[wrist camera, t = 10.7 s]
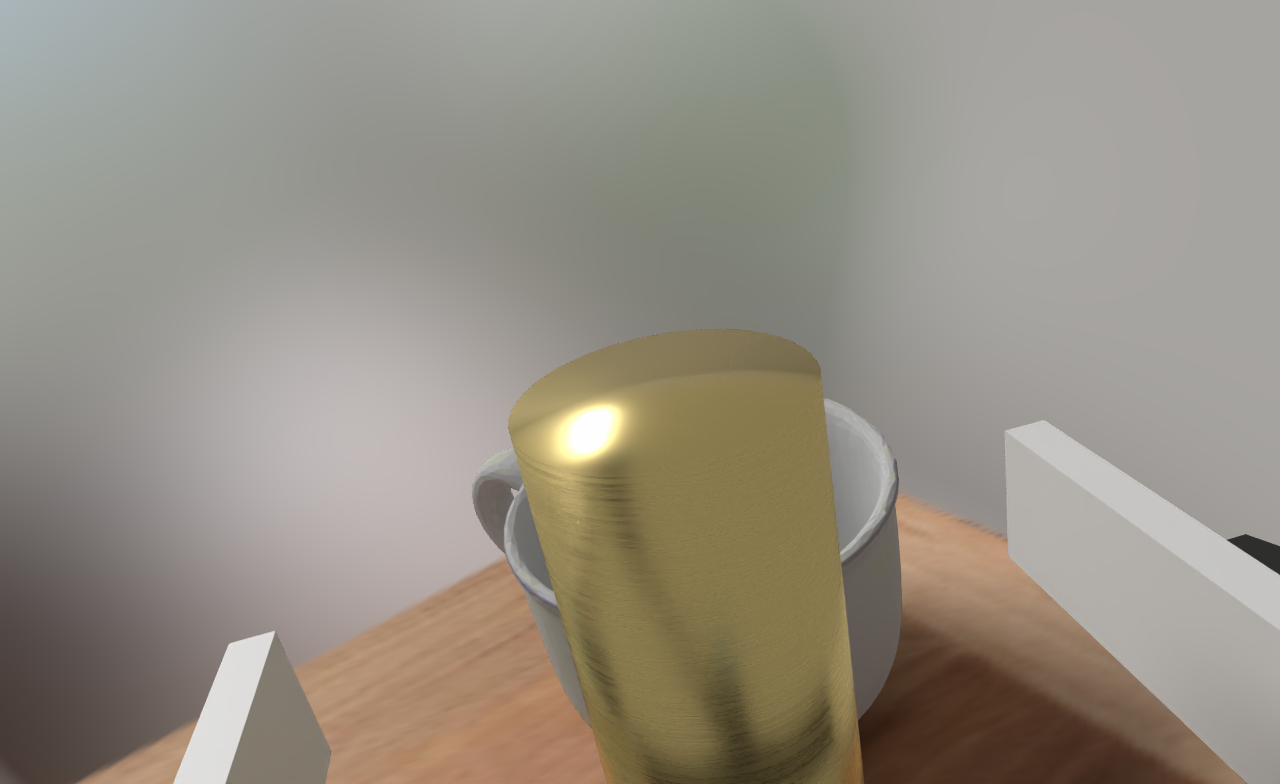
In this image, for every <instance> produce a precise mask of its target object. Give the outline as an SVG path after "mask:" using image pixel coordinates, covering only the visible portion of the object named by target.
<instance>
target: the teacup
mask: <svg viewBox="0 0 1280 784" xmlns="http://www.w3.org/2000/svg"><path fill="white" fill-rule="evenodd" d="M824 406H825V416H826V425H827V435H828V444H829V454H830V463H831V473H832V482H833V491H834V501H835V510H836V520H837V529H838V539H839V548H840V558H841V567H842V577H843V586H844V596H845V605H846V615H847V624H848V633H849V643H850V652H851V662H852V671H853V681H854V690H855V700H856V709H857V719H858V720H859V719H860V718H861V717H862V716H863V714H864V713H865V712H866V711H867V710H868V709H869V708H870V706H871V705H872V704H873V702H874V701H875V699H876V698H877V696H878V695H879V693H880V691H881V690H882V688H883V686H884V684H885V682H886V680H887V678H888V676H889V673H890V670H891V668H892V665H893V663H894V660H895V656H896V652H897V648H898V644H899V637H900V630H901V614H902V593H901V564H900V551H899V539H898V527H897V518H896V508H895V503H896V500H897V495H898V485H899V478H898V470H897V462H896V460H895V458H894V456H893V453H892V451H891V448H890V446H889V445H888V443H887V442H886V440H885V438H884V437H883V436H882V435H881V434H880V433H879V431H878V429H876V428H875V427H874V426H873V425H872V424H871V423H870V422H869V421H868V420H866V419H864V418H863V417H861V416H860V415H859V414H857V413H856V412H854V411H853V410H851V409H849V408H848V407H846V406H843V405H840V404H839V403H837V402H834V401H832V400H829V399H825V398H824ZM511 488H513V489H515V490H517V491H519V492H518V494H517V496H516V497H515V498H514V497H513V494H512V492H511ZM472 499H473V504H474V508H475V511H476V514H477V516H478V519H479V520H480V522H481V524H482V526H483V528H484V530H485V531H486V533H487V534H488V535H489V537H490V538H491V539H492V540H493V542H494V543H495V544H496V545H497V546H498V548H499V549H501V550H502V551H503V552H504V553H505V554H506V557H507V560H508V563H509V565H510V567H511V570H512V572H513V574H514V575H515V577H516V578H517V580H518V581H519V583H520V584H521V586H522V587H523V589H524V592H525V595H526V597H527V600H528V603H529V606H530V609H531V612H532V614H533V617H534V620H535V622H536V625H537V627H538V630H539V633H540V635H541V638H542V640H543V643H544V645H545V648H546V650H547V653H548V655H549V658H550V660H551V663H552V665H553V667H554V669H555V671H556V674H557V676H558V678H559V680H560V682H561V684H562V686H563V688H564V690H565V692H566V694H567V696H568V698H569V699H570V701H571V702H572V704H573V705H574V707H575V708H576V710H577V711H578V712H579V714H580V715H581V717H582V718H583V719H584V720H585V721H586V723H587V724H588V725H589V726H590V727H591V723H590V720H589V716H588V713H587V709H586V705H585V702H584V698H583V695H582V691H581V688H580V684H579V680H578V677H577V673H576V670H575V666H574V662H573V659H572V655H571V652H570V648H569V644H568V641H567V637H566V634H565V630H564V627H563V623H562V619H561V616H560V612H559V609H558V605H557V601H556V598H555V594H554V591H553V587H552V584H551V580H550V576H549V573H548V569H547V566H546V562H545V558H544V555H543V551H542V548H541V544H540V540H539V537H538V533H537V530H536V526H535V523H534V519H533V515H532V512H531V508H530V505H529V501H528V497H527V494H526V490H525V487H524V483H523V480H522V476H521V472H520V469H519V465H518V462H517V458H516V454H515V451H514V448H511V449H507V450H504V451H502V452H500V453H498V454H496V455H495V456H493V457H492V458H490V459H489V460H488V461H487V462H486V463H485V464H484V465H483V466H482V467H481V468H480V470H479V471H478V472H477V473H476V476H475V479H474V482H473V485H472ZM591 728H592V727H591Z"/></svg>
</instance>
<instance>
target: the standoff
mask: <svg viewBox="0 0 1280 784" xmlns="http://www.w3.org/2000/svg"><path fill="white" fill-rule="evenodd" d="M508 429H509V433H510V436H511V440H512V444H513V447H514V451H515V454H516V458H517V462H518V465H519V469H520V472H521V476H522V480H523V483H524V487H525V490H526V494H527V497H528V501H529V505H530V508H531V512H532V515H533V519H534V523H535V526H536V530H537V533H538V537H539V540H540V544H541V548H542V551H543V555H544V558H545V562H546V566H547V569H548V573H549V576H550V580H551V584H552V587H553V591H554V594H555V598H556V601H557V605H558V609H559V612H560V616H561V619H562V623H563V627H564V630H565V634H566V637H567V641H568V644H569V648H570V652H571V655H572V659H573V662H574V666H575V670H576V673H577V677H578V680H579V684H580V688H581V691H582V695H583V698H584V702H585V705H586V709H587V713H588V716H589V720H590V723H591V727H592V731H593V734H594V738H595V741H596V745H597V748H598V752H599V756H600V759H601V763H602V766H603V770H604V774H605V777H606V781H607V784H864V775H863V766H862V756H861V747H860V738H859V728H858V719H857V709H856V700H855V690H854V681H853V671H852V662H851V652H850V643H849V633H848V624H847V615H846V605H845V596H844V586H843V577H842V567H841V558H840V548H839V539H838V529H837V520H836V510H835V501H834V491H833V482H832V473H831V463H830V454H829V444H828V435H827V425H826V416H825V406H824V397H823V387H822V378H821V370H820V367H819V364H818V362H817V360H816V359H815V358H814V357H813V356H812V354H811V353H810V352H808V351H807V350H806V349H804V348H803V347H802V346H800V345H798V344H796V343H794V342H792V341H790V340H787V339H784V338H781V337H778V336H774V335H770V334H767V333H761V332H755V331H747V330H736V329H700V330H686V331H678V332H670V333H663V334H657V335H652V336H647V337H643V338H638V339H634V340H630V341H626V342H622V343H619V344H615V345H612V346H609V347H606V348H603V349H600V350H597V351H594V352H592V353H589V354H586V355H584V356H582V357H580V358H577V359H575V360H573V361H571V362H569V363H567V364H565V365H563V366H561V367H559V368H557V369H555V370H554V371H552V372H551V373H549V374H547V375H546V376H544V377H543V378H542V379H540V380H539V381H537V382H536V383H535V384H533V385H532V386H531V387H530V388H529V389H528V390H527V391H526V392H525V393H524V394H523V395H522V396H521V397H520V399H519V400H518V401H517V402H516V404H515V406H514V407H513V409H512V411H511V414H510V417H509V424H508Z"/></svg>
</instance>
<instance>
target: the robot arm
mask: <svg viewBox="0 0 1280 784" xmlns="http://www.w3.org/2000/svg"><path fill="white" fill-rule="evenodd" d="M1005 455H1006V456H1005V457H1006V490H1007V491H1006V494H1007V531H1008V556H1009V557H1010V558H1011V559H1012V560H1013V561H1014V562H1015V563H1016V564H1017V565H1018V566H1019V567H1020V568H1021V569H1022V570H1023V571H1024V572H1025V573H1027V574H1028V575H1029V576H1030V577H1031V578H1032V579H1033V580H1034V581H1035V582H1036V583H1037V584H1038V585H1039V586H1040V587H1041V588H1042V589H1043V590H1044V591H1045V592H1046V593H1048V594H1049V595H1050V596H1051V597H1052V598H1053V599H1054V600H1055V601H1056V602H1057V603H1058V604H1059V605H1060V606H1061V607H1062V608H1063V609H1064V610H1065V611H1066V612H1068V613H1069V614H1070V615H1071V616H1072V617H1073V618H1074V619H1075V620H1076V621H1077V622H1078V623H1079V624H1080V625H1081V626H1082V627H1083V628H1084V629H1085V630H1086V631H1087V632H1089V633H1090V634H1091V635H1092V636H1093V637H1094V638H1095V639H1096V640H1097V641H1098V642H1099V643H1100V644H1101V645H1102V646H1103V647H1104V648H1105V649H1106V650H1107V651H1108V652H1110V653H1111V654H1112V655H1113V656H1114V657H1115V658H1116V659H1117V660H1118V661H1119V662H1120V663H1121V664H1122V665H1123V666H1124V667H1125V668H1126V669H1127V670H1128V671H1129V672H1131V673H1132V674H1133V675H1134V676H1135V677H1136V678H1137V679H1138V680H1139V681H1140V682H1141V683H1142V684H1143V685H1144V686H1145V687H1146V688H1147V689H1148V690H1149V691H1150V692H1152V693H1153V694H1154V695H1155V696H1156V697H1157V698H1158V699H1159V700H1160V701H1161V702H1162V703H1163V704H1164V705H1165V706H1166V707H1167V708H1168V709H1169V710H1170V711H1171V712H1173V713H1174V714H1175V715H1176V716H1177V717H1178V718H1179V719H1180V720H1181V721H1182V722H1183V723H1184V724H1185V725H1186V726H1187V727H1188V728H1189V729H1190V730H1191V731H1193V732H1194V733H1195V734H1196V735H1197V736H1198V737H1199V738H1200V739H1201V740H1202V741H1203V742H1204V743H1205V744H1206V745H1207V746H1208V747H1209V748H1210V749H1211V750H1212V751H1214V752H1215V753H1216V754H1217V755H1218V756H1219V757H1220V758H1221V759H1222V760H1223V761H1224V762H1225V763H1226V764H1227V765H1228V766H1229V767H1230V768H1231V769H1232V770H1233V771H1235V772H1236V773H1237V774H1238V775H1239V776H1240V777H1241V778H1242V779H1243V780H1244V781H1245V782H1246V783H1247V784H1280V546H1277V545H1275V544H1272V543H1269V542H1266V541H1263V540H1260V539H1258V538H1255V537H1252V536H1249V535H1246V534H1245V535H1242V536H1238V537H1235V538H1232V539H1228V540H1226V539H1224V538H1222V537H1221V536H1219V535H1218V534H1216V533H1215V532H1213V531H1212V530H1210V529H1209V528H1207V527H1206V526H1204V525H1203V524H1201V523H1200V522H1198V521H1197V520H1195V519H1193V518H1192V517H1190V516H1189V515H1187V514H1186V513H1184V512H1183V511H1181V510H1180V509H1178V508H1177V507H1175V506H1174V505H1172V504H1171V503H1169V502H1168V501H1166V500H1165V499H1163V498H1162V497H1160V496H1159V495H1157V494H1155V493H1154V492H1152V491H1151V490H1149V489H1148V488H1146V487H1145V486H1143V485H1142V484H1140V483H1139V482H1137V481H1136V480H1134V479H1133V478H1131V477H1130V476H1128V475H1127V474H1125V473H1124V472H1122V471H1121V470H1119V469H1117V468H1116V467H1114V466H1113V465H1111V464H1110V463H1108V462H1107V461H1105V460H1104V459H1102V458H1101V457H1099V456H1097V455H1096V454H1095V453H1093V452H1092V451H1090V450H1089V449H1087V448H1085V447H1084V446H1082V445H1081V444H1079V443H1078V442H1076V441H1075V440H1073V439H1072V438H1070V437H1069V436H1067V435H1066V434H1064V433H1063V432H1061V431H1060V430H1058V429H1057V428H1055V427H1053V426H1052V425H1050V424H1049V423H1047V422H1046V421H1044V420H1043V421H1039V422H1036V423H1032V424H1029V425H1025V426H1021V427H1017V428H1014V429H1010V430H1006V431H1005ZM330 756H331V749H330V747H329V745H328V743H327V741H326V739H325V736H324V734H323V732H322V730H321V728H320V726H319V724H318V721H317V719H316V717H315V715H314V713H313V711H312V708H311V706H310V704H309V702H308V700H307V698H306V696H305V693H304V691H303V689H302V687H301V685H300V683H299V681H298V678H297V676H296V674H295V672H294V670H293V668H292V665H291V663H290V661H289V659H288V657H287V655H286V653H285V650H284V648H283V646H282V644H281V642H280V640H279V638H278V636H277V633H276V631H273V632H270V633H266V634H263V635H259V636H255V637H251V638H248V639H245V640H241V641H237V642H233V643H230V644H229V645H228V648H227V650H226V653H225V655H224V658H223V660H222V663H221V666H220V668H219V670H218V673H217V675H216V678H215V680H214V683H213V685H212V688H211V690H210V693H209V695H208V698H207V701H206V703H205V706H204V708H203V710H202V713H201V716H200V718H199V721H198V723H197V726H196V728H195V731H194V733H193V736H192V738H191V741H190V743H189V746H188V748H187V751H186V753H185V756H184V758H183V761H182V763H181V766H180V768H179V771H178V773H177V776H176V778H175V781H174V783H173V784H325V782H326V777H327V771H328V766H329V761H330Z"/></svg>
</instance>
